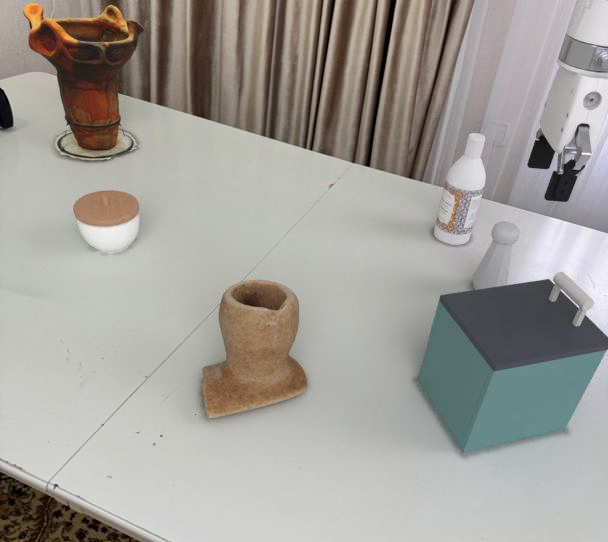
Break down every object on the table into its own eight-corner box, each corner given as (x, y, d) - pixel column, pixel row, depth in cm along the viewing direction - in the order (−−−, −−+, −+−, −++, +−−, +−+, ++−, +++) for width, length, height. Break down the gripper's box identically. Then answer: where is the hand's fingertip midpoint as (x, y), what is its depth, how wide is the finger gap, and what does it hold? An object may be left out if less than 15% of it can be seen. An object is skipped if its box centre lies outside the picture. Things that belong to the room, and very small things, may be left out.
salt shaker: (463, 292, 106) (483, 226, 98) (476, 278, 110) (496, 212, 101) (495, 306, 104) (518, 239, 95) (508, 290, 108) (531, 225, 99)
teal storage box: (510, 364, 93) (541, 284, 84) (564, 431, 84) (607, 350, 74) (416, 382, 89) (438, 300, 79) (462, 454, 80) (493, 372, 70)
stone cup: (284, 346, 93) (290, 263, 83) (316, 401, 85) (326, 316, 75) (185, 368, 88) (178, 282, 78) (208, 429, 80) (203, 342, 70)
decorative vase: (170, 146, 141) (159, 10, 123) (79, 175, 128) (52, 27, 109) (117, 117, 151) (100, -13, 132) (28, 141, 138) (-5, 0, 119)
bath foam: (426, 230, 121) (449, 130, 108) (455, 225, 123) (481, 126, 110) (445, 249, 116) (472, 146, 103) (476, 243, 119) (505, 142, 105)
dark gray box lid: (547, 283, 84) (559, 252, 80) (612, 348, 74) (629, 317, 71) (438, 299, 79) (447, 268, 76) (494, 371, 70) (506, 338, 67)
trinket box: (83, 264, 105) (73, 215, 99) (78, 232, 112) (69, 184, 106) (147, 256, 108) (141, 208, 102) (139, 225, 115) (133, 178, 109)
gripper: (649, 81, 69) (591, 216, 81) (599, 36, 82) (556, 158, 94) (583, 75, 69) (534, 212, 81) (543, 31, 82) (507, 154, 94)
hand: (546, 183), depth 87 cm, fingers open, 9 cm apart
